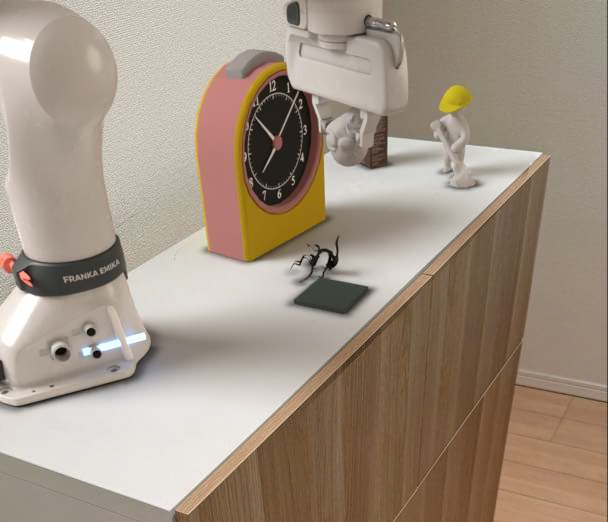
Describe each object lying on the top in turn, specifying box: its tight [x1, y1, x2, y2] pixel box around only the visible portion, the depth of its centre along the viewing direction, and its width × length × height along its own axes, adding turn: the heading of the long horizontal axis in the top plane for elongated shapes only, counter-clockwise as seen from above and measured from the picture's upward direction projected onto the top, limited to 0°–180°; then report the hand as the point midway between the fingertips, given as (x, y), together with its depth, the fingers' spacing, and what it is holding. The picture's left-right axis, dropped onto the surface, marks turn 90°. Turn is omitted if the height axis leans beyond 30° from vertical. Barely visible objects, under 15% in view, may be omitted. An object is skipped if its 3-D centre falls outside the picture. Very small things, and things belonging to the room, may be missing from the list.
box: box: [359, 115, 389, 169], centre depth 149 cm, size 6×4×12 cm
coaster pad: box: [293, 276, 369, 315], centre depth 111 cm, size 8×8×1 cm
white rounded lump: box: [325, 106, 377, 168], centre depth 99 cm, size 6×7×7 cm
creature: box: [290, 235, 341, 283], centre depth 115 cm, size 8×5×8 cm
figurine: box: [430, 84, 477, 189], centre depth 139 cm, size 10×9×15 cm
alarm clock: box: [194, 48, 326, 262], centre depth 120 cm, size 21×9×26 cm, turn 143°
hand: (345, 140), depth 99 cm, fingers closed on white rounded lump, 6 cm apart
